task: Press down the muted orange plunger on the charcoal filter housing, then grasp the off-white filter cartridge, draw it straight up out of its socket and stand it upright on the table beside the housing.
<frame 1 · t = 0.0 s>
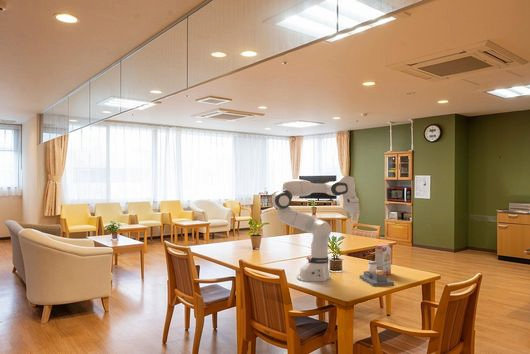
hand: (351, 219, 266), 39 cm above the table, tool pointing down, fingers open, 8 cm apart
cartridge: (372, 276, 257), point 2 cm above the table, touching housing
plunger: (379, 273, 247), point 6 cm above the table, slide at 0.0 cm
cracker box: (383, 274, 270), on the table
housing: (376, 281, 252), on the table
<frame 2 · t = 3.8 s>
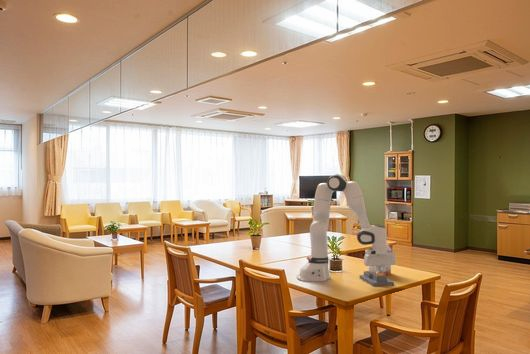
hand: (380, 272, 247), 7 cm above the table, tool pointing down, fingers closed, pressing on plunger
plunger: (379, 275, 247), point 5 cm above the table, slide at 0.9 cm, touching gripper
everything else where it was.
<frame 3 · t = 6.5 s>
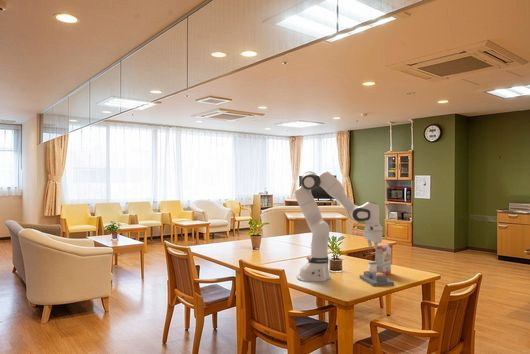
hand: (372, 247, 257), 21 cm above the table, tool pointing down, fingers open, 6 cm apart
plunger: (379, 276, 247), point 5 cm above the table, slide at 1.6 cm
everything else where it was.
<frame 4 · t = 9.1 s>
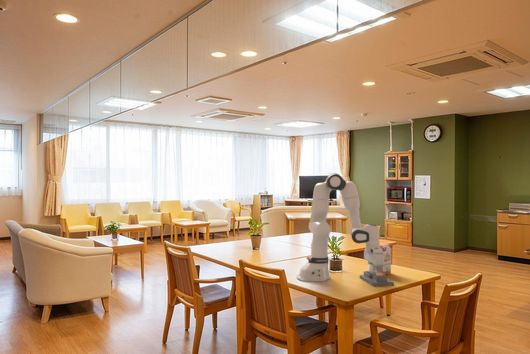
hand: (372, 269, 257), 7 cm above the table, tool pointing down, fingers closed on cartridge, 5 cm apart
cartridge: (372, 276, 257), point 2 cm above the table, touching gripper, housing
everything else where it was.
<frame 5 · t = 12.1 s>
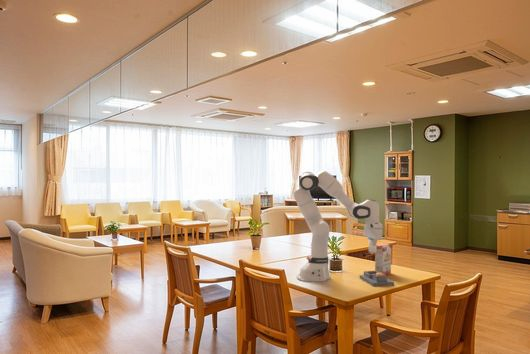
hand: (372, 244, 257), 23 cm above the table, tool pointing down, fingers closed on cartridge, 5 cm apart
cartridge: (372, 251, 257), point 18 cm above the table, touching gripper
everything else where it was.
when the fingers open (6 cm above the table, at t = 15.5 s): cartridge stays where it is, on the table.
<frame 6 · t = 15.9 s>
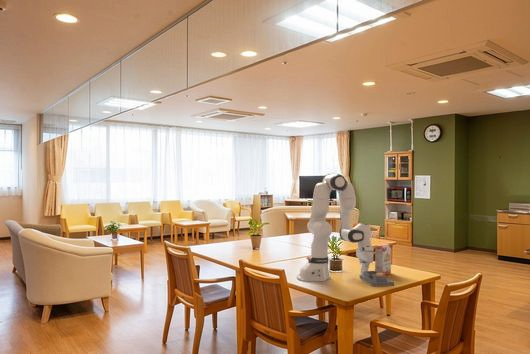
hand: (364, 266, 269), 6 cm above the table, tool pointing down, fingers open, 8 cm apart
cartridge: (364, 274, 269), on the table
everything else where it was.
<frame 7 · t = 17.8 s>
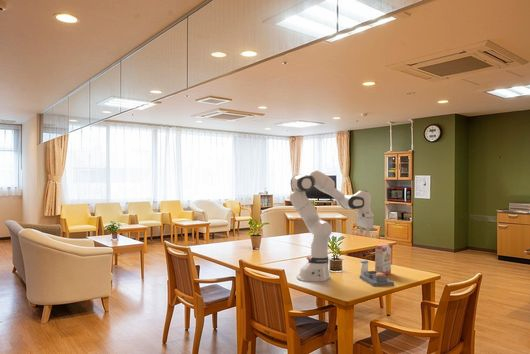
hand: (364, 233, 270), 28 cm above the table, tool pointing down, fingers open, 8 cm apart
nothing on the table moved.
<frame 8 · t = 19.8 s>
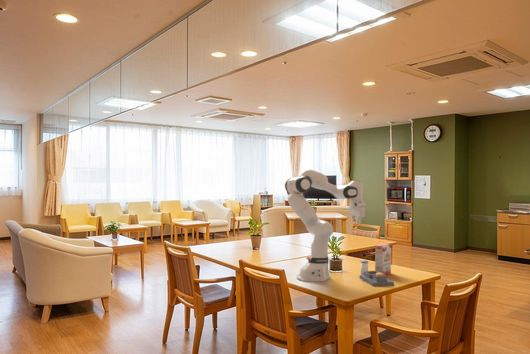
hand: (356, 222, 277), 35 cm above the table, tool pointing down, fingers open, 8 cm apart
nothing on the table moved.
at the end: plunger slide at 1.6 cm; cartridge inside the target area (0.0 cm from its centre), on the table; cartridge tilted 0° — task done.
